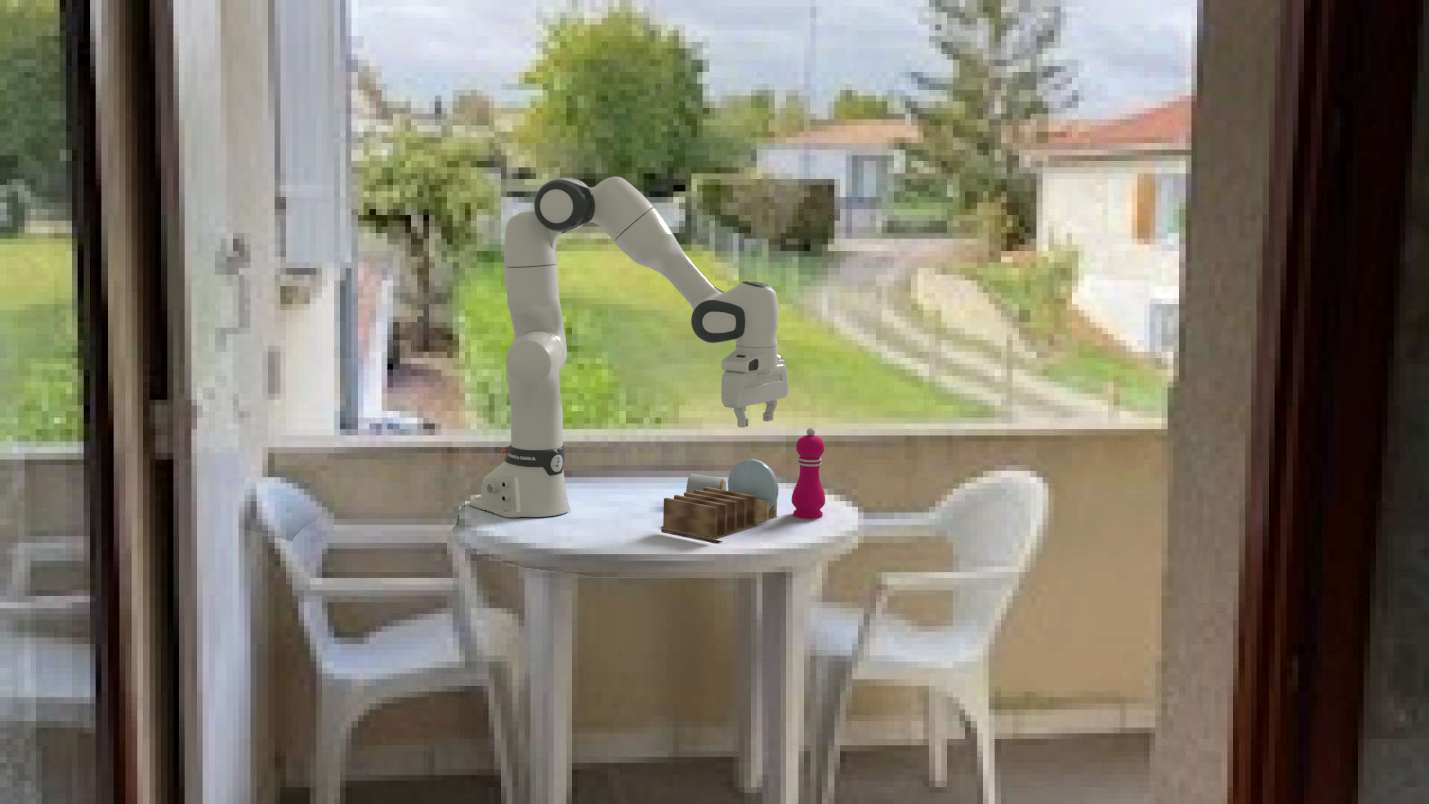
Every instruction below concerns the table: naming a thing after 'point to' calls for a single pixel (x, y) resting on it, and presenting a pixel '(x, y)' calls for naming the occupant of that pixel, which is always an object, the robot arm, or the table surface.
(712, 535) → the dish rack
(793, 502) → the pepper mill
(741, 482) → the plate
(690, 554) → the table surface
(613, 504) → the table surface
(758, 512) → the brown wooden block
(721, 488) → the ceramic mug
